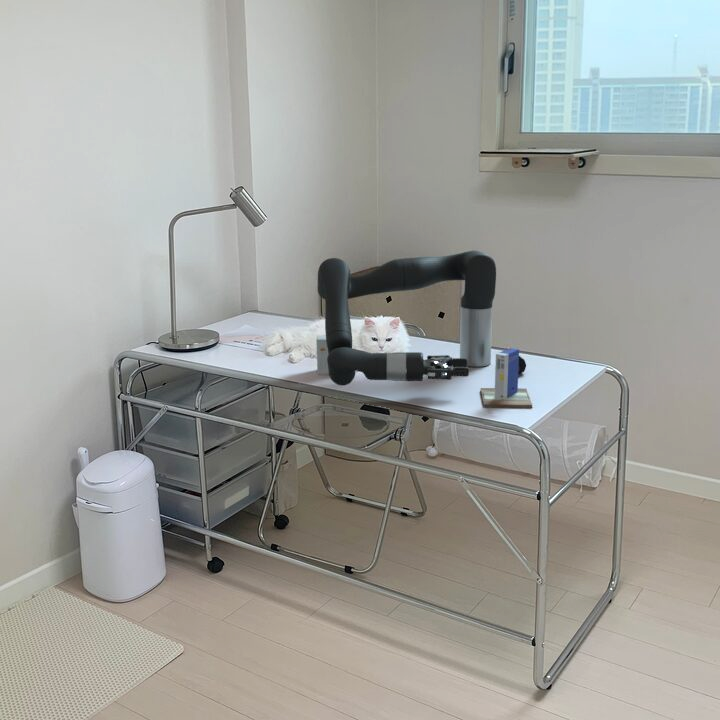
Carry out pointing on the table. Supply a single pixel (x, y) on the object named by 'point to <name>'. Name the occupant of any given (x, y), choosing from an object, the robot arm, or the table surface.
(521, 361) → the microphone
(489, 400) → the card
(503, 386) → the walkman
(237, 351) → the table surface
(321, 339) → the small box
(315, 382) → the table surface
